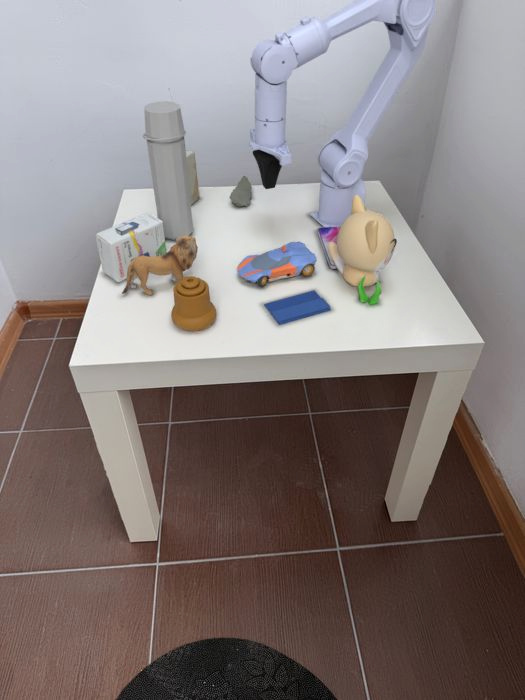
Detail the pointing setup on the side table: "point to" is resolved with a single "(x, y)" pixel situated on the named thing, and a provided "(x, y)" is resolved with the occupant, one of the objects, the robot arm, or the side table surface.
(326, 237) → the smartphone
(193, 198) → the box
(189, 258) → the lion figurine
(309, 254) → the toy car
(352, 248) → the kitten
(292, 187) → the side table surface
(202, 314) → the ornamental finial
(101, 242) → the ink box
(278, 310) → the cloth
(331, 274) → the side table surface
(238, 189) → the stone
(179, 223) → the water bottle
